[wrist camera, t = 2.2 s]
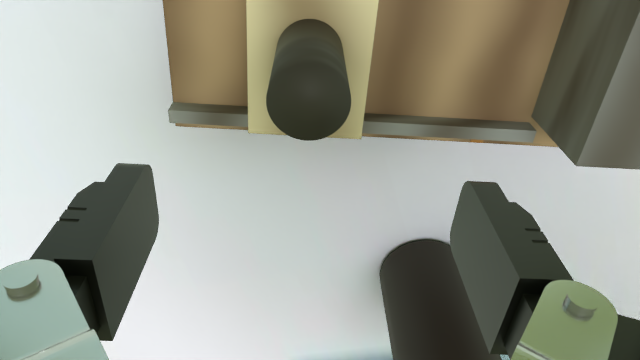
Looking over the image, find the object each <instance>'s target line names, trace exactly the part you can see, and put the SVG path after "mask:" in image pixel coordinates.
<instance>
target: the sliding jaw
mask: <svg viewBox="0 0 640 360" xmlns="http://www.w3.org/2000/svg"><path fill="white" fill-rule="evenodd" d="M378 2H379V0H246V11H247V81H248V133H257V134H276V135H288V136H290V137H293V138H296V139H300V140H318V139H322V138H325V137H331V138H349V139H361V136H362V128H363V120H364V112H365V104H366V96H367V89H368V81H369V73H370V65H371V57H372V49H373V41H374V33H375V26H376V18H377V10H378Z"/></svg>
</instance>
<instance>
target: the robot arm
mask: <svg viewBox="0 0 640 360" xmlns="http://www.w3.org/2000/svg"><path fill="white" fill-rule="evenodd" d="M59 219H60V220H59V221H57V222H56V224H55V225H54V226H53V228H52V229H51V231H50V232H49V233H48V235H47V236H46V237H45V239H44V240H43V242H42V243H41V244H40V246H39V247H38V248H37V250H36V251H35V253H34V254H33V255H32V257H31V258H30V259H29V260H26V261H21V262H18V263H14V264H12V265H9V266H7V267H5V268H3V269H1V270H0V360H109V359H108V357H107V355H106V352H105V350H104V348H103V346H102V344H101V342H100V341H113V339H114V336H115V334H116V332H117V329H118V327H119V324H120V322H121V320H122V317H123V315H124V313H125V310H126V308H127V306H128V303H129V301H130V298H131V296H132V294H133V291H134V289H135V287H136V284H137V282H138V280H139V277H140V275H141V272H142V270H143V268H144V265H145V263H146V261H147V258H148V256H149V254H150V251H151V249H152V246H153V244H154V242H155V239H156V236H157V232H158V225H159V215H158V207H157V200H156V193H155V186H154V179H153V173H152V169H151V167H150V165H144V164H124V163H118V164H116V166H115V167H114V168H113V170H112V171H111V173H110V174H109V176H108V177H107V179H106V180H105V182H94V183H92V184H91V185H89V186H88V187H86V188H85V189H83V190H82V191H80V192H79V193H77V195H76V196H75V197H74V199H73V200H72V202H71V203H70V204H69V206H68V209H67V210H65V211H64V213H63V214H62V215H61V217H60V218H59ZM450 246H451V251H452V254H453V257H454V260H455V262H456V265H457V268H458V270H459V273H460V276H461V278H462V281H463V284H464V287H465V289H466V292H467V295H468V297H469V300H470V303H471V305H472V308H473V311H474V314H475V316H476V319H477V322H478V324H479V327H480V330H481V332H482V335H483V338H484V341H485V343H486V346H487V349H488V351H489V354H505V355H509V358H510V360H640V320H636V319H632V318H629V317H625V316H622V315H618V314H617V312H616V310H615V308H614V306H613V305H612V304H611V302H610V301H609V300H608V299H607V298H606V297H605V296H604V295H602V294H601V293H600V292H598V291H596V290H595V289H593V288H591V287H589V286H587V285H585V284H582V283H579V282H576V281H574V280H573V279H572V277H571V276H570V274H569V273H568V271H567V269H566V268H565V266H564V265H563V263H562V262H561V260H560V259H559V257H558V256H557V254H556V252H555V251H554V249H553V248H552V246H551V245H550V243H548V240H547V238H546V237H545V235H544V234H543V232H540V228H539V226H538V224H537V223H536V221H535V220H534V218H533V217H532V215H531V214H530V213H528V212H527V211H526V210H525V209H523V208H522V207H521V206H520V205H518V204H517V203H516V202H508V200H507V198H506V197H505V195H504V193H503V192H502V190H501V188H500V187H499V185H498V184H497V183H494V182H474V181H467V182H465V183H464V185H463V187H462V190H461V194H460V197H459V201H458V205H457V208H456V212H455V216H454V219H453V223H452V227H451V232H450Z"/></svg>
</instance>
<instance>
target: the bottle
mask: <svg viewBox="0 0 640 360" xmlns="http://www.w3.org/2000/svg"><path fill="white" fill-rule="evenodd" d="M380 282H381V289H382V295H383V301H384V307H385V313H386V319H387V325H388V331H389V337H390V343H391V349H392V355H393V360H502V359H501V356H500V354H489V351H488V349H487V346H486V343H485V341H484V338H483V335H482V332H481V330H480V327H479V324H478V322H477V319H476V316H475V314H474V311H473V308H472V305H471V303H470V300H469V297H468V295H467V292H466V289H465V287H464V284H463V281H462V278H461V276H460V273H459V270H458V268H457V265H456V262H455V260H454V257H453V254H452V251H451V246H449V245H447V244H444V243H442V242H439V241H431V240H423V241H415V242H411V243H408V244H406V245H403V246H400V247H399V248H398V249H396V250H395V251H393V252H392V253H390V255H389V256H388V257H387V258H386V260H385V261H384V262H383V265H382V268H381V271H380Z"/></svg>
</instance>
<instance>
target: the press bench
mask: <svg viewBox="0 0 640 360" xmlns="http://www.w3.org/2000/svg"><path fill="white" fill-rule="evenodd" d="M163 8H164V18H165V27H166V37H167V47H168V56H169V66H170V75H171V85H172V95H173V103H172V105H171V107H170V108H169V110H168V113H169V122H170V123H175V124H176V126H184V127H203V128H221V129H239V130H248V81H247V11H246V0H163ZM362 136H368V137H386V138H404V139H423V140H441V141H459V142H477V143H496V144H514V145H532V146H551V147H559V148H560V149H561V150H562V151H563V152H564V153H565V154H566V155H567V157H568V158H569V159H570V160H571V161H572V162H573V163H574V164H575V165H576V166H585V167H604V168H623V169H640V0H379V2H378V10H377V18H376V26H375V33H374V41H373V49H372V57H371V65H370V73H369V81H368V89H367V96H366V104H365V112H364V120H363V128H362Z"/></svg>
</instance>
